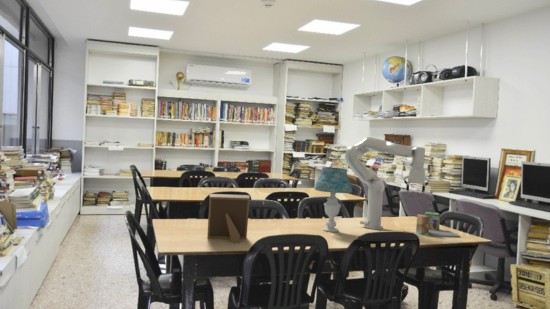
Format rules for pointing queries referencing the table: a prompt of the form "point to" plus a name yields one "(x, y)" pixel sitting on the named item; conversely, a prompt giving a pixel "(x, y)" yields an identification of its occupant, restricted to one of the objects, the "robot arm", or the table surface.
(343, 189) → the table lamp
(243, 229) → the photo frame
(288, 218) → the table surface
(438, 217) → the colorful lidded canister
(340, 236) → the table surface
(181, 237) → the table surface
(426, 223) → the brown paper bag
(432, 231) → the mat
